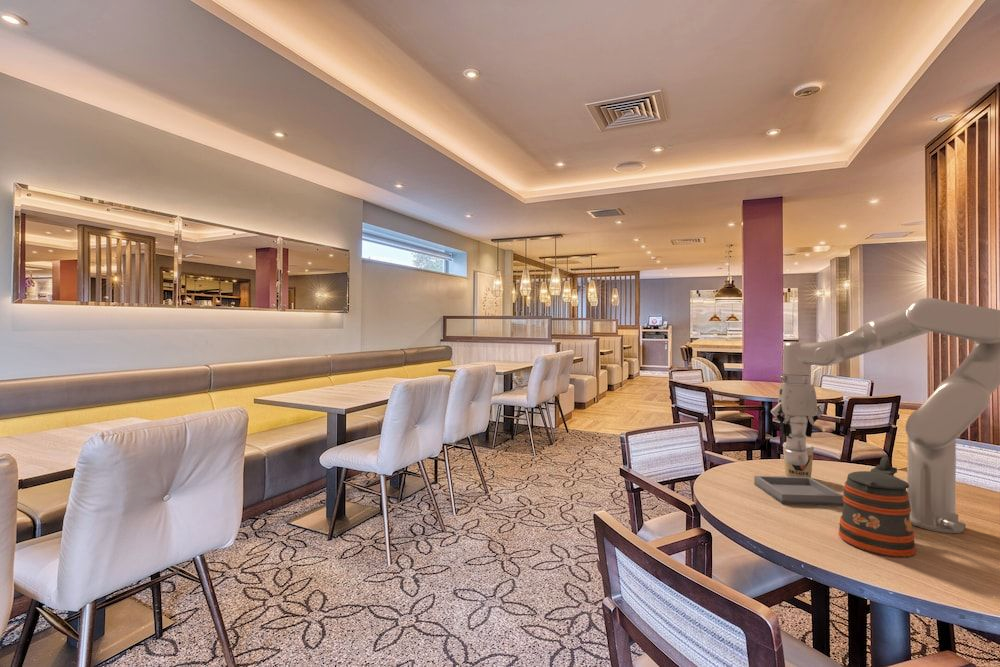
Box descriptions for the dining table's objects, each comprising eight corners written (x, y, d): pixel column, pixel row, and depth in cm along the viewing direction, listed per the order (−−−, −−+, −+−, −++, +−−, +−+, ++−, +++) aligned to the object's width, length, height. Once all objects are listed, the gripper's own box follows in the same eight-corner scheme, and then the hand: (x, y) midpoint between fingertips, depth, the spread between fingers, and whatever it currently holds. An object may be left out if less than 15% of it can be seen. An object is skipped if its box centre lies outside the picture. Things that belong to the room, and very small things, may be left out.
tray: (845, 506, 135) (845, 496, 135) (782, 504, 137) (782, 494, 137) (809, 486, 153) (809, 477, 153) (754, 484, 155) (754, 475, 155)
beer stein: (847, 520, 125) (847, 448, 125) (919, 538, 114) (919, 459, 114) (833, 542, 112) (833, 462, 112) (912, 564, 101) (913, 476, 101)
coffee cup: (783, 479, 160) (783, 445, 160) (781, 472, 168) (781, 440, 168) (815, 483, 156) (815, 449, 156) (811, 476, 164) (811, 443, 164)
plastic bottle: (787, 466, 143) (788, 403, 143) (781, 460, 149) (781, 400, 149) (811, 468, 141) (811, 405, 141) (803, 462, 147) (804, 401, 147)
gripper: (774, 380, 142) (774, 437, 142) (832, 381, 140) (832, 439, 141) (763, 378, 150) (762, 432, 150) (818, 379, 148) (817, 433, 148)
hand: (796, 435), depth 145 cm, fingers closed on plastic bottle, 6 cm apart
